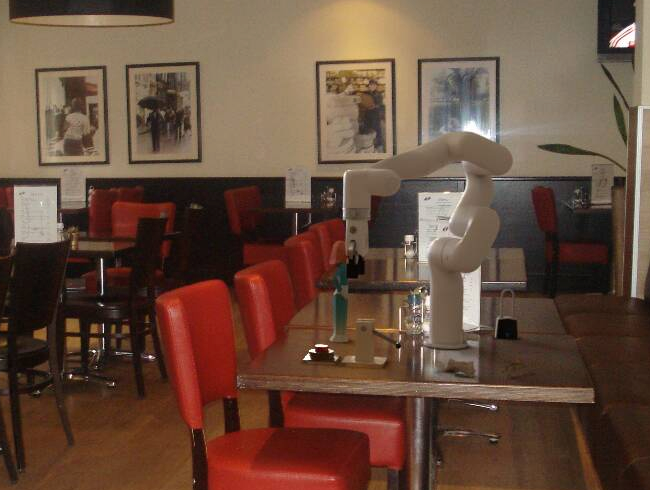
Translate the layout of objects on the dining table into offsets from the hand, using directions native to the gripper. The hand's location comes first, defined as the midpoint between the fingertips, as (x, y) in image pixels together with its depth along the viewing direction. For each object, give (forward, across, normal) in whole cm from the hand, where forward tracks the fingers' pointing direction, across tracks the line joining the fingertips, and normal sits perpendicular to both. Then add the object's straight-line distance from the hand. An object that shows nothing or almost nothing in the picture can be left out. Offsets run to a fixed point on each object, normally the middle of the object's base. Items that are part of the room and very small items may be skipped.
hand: (355, 276), depth 289 cm
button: (+19, -13, +7) cm, 24 cm away
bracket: (+22, -12, -5) cm, 26 cm away
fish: (+22, -16, -44) cm, 52 cm away
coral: (+22, -18, -29) cm, 41 cm away
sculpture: (+22, +20, +8) cm, 31 cm away
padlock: (+22, +40, -39) cm, 60 cm away
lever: (+15, -12, -9) cm, 21 cm away
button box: (+22, -13, +6) cm, 26 cm away
